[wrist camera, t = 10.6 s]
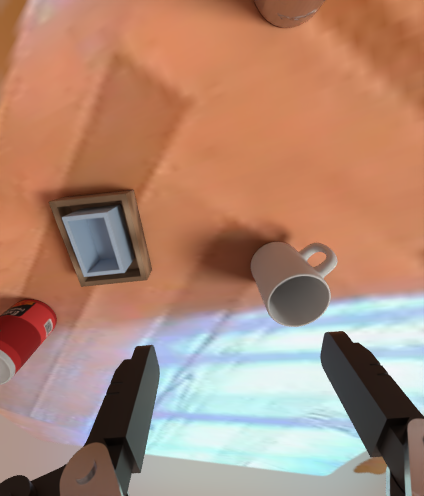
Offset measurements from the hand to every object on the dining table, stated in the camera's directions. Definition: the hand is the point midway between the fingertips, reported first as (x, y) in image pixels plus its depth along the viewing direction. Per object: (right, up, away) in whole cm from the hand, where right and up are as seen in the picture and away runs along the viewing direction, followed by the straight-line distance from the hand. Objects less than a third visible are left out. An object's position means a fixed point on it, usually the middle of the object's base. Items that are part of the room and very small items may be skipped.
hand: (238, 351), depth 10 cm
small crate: (-18, +7, +25) cm, 31 cm away
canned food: (-34, -8, +31) cm, 47 cm away
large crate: (-18, +7, +25) cm, 32 cm away
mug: (+11, +3, +28) cm, 30 cm away
